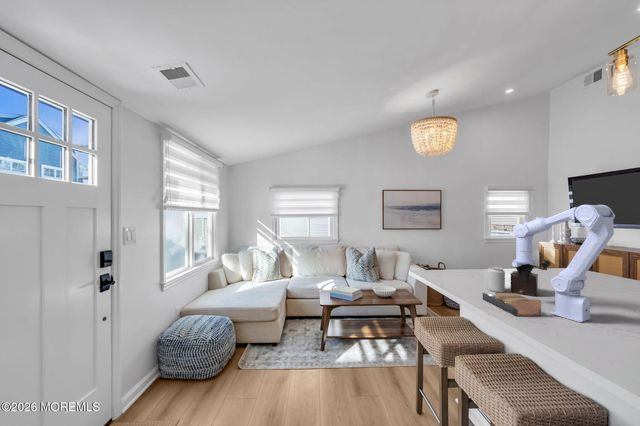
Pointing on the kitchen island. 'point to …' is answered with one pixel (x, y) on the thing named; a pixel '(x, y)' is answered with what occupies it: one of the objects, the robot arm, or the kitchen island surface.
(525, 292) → the manual coffee grinder
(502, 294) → the tan flat block
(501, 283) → the can
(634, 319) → the kitchen island surface
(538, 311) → the roller bed
